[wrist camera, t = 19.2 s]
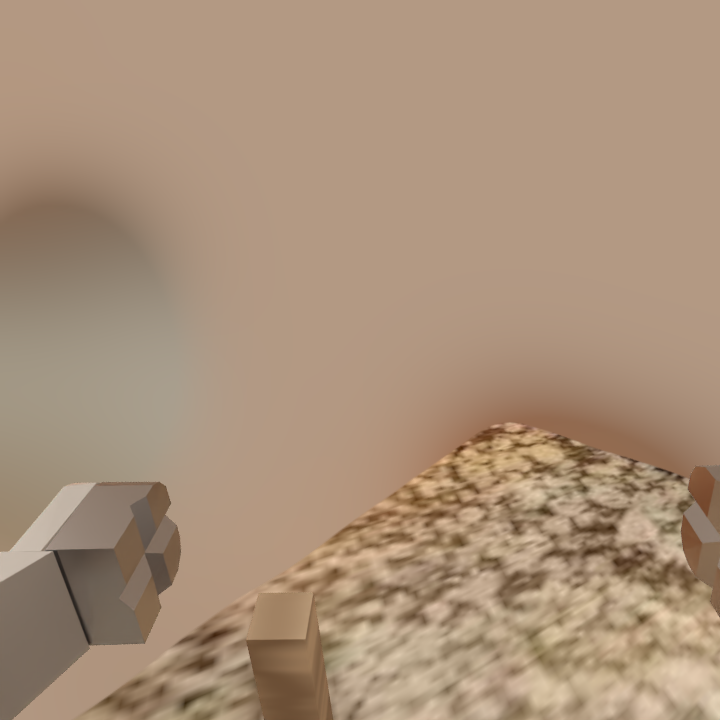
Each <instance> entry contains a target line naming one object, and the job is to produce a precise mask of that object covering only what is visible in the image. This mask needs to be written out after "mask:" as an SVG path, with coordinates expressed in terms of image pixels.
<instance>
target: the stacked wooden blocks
mask: <svg viewBox="0 0 720 720" xmlns="http://www.w3.org/2000/svg"><path fill="white" fill-rule="evenodd" d="M246 642H247V646H248V650H249V655H250V659H251V664H252V668H253V672H254V677H255V681H256V685H257V690H258V694H259V699H260V703H261V707H262V712H263V716H264V720H333V716H332V709H331V703H330V696H329V690H328V684H327V677H326V671H325V664H324V658H323V651H322V645H321V638H320V632H319V626H318V619H317V613H316V606H315V600H314V593H313V592H300V593H259V594H258V598H257V602H256V605H255V609H254V613H253V616H252V620H251V624H250V627H249V631H248V635H247V638H246Z"/></svg>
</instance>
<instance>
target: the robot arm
mask: <svg viewBox="0 0 720 720" xmlns="http://www.w3.org/2000/svg"><path fill="white" fill-rule="evenodd" d="M688 490H689V492H690V493H691V495H692V496H693V498H694V499H695V501H696V502H695V503H694V504H693V505H691V506H690V507H689V508H688V509H687V510H686V511H685V512H684V513H683V519H682V527H681V537H682V545H683V551H684V554H685V557H686V559H687V562H688V565H689V566H690V568H691V570H692V572H693V573H694V575H695V577H696V578H698V579H699V580H701V581H702V582H704V583H705V584H707V585H709V586H710V587H712V588H713V590H712V595H711V600H710V602H711V604H712V605H713V607H714V609H715V610H716V612H717V614H718V615H719V617H720V465H714V466H695V468H694V470H693V471H692V473H691V475H690V480H689V485H688ZM170 504H171V501H170V499H169V495H168V492H167V488H166V486H164V485H163V484H162V483H160V482H102V483H72V484H69V485H67V486H64V487H63V488H62V490H61V491H60V492H59V493H58V494H57V495H56V497H55V498H54V499H53V500H52V501H51V503H50V504H49V505H48V506H47V507H46V509H45V510H44V511H43V512H42V513H41V515H40V516H39V517H38V518H37V519H36V520H35V522H34V523H33V524H32V525H31V526H30V528H29V529H28V530H27V531H26V532H25V533H24V535H23V536H22V537H21V538H20V539H19V541H18V542H17V543H16V544H15V546H14V547H13V548H12V549H11V550H10V551H9V552H0V720H12V719H13V718H14V717H16V716H17V715H18V714H19V713H20V712H21V711H22V710H23V709H24V708H25V707H26V706H28V705H29V704H30V703H31V702H32V701H33V700H34V699H35V698H36V697H37V696H38V695H40V694H41V693H42V692H43V691H44V690H45V689H46V688H47V687H48V686H49V685H50V684H52V683H53V682H54V681H55V680H56V679H57V678H58V677H59V676H60V675H61V674H63V673H64V672H65V671H66V670H67V669H68V668H69V667H70V666H71V665H72V664H73V663H75V662H76V661H77V660H78V659H79V658H80V657H81V656H82V655H83V654H84V653H85V652H87V651H88V650H89V649H90V648H89V645H117V644H145V642H146V640H147V637H148V635H149V633H150V631H151V629H152V627H153V624H154V622H155V620H156V618H157V616H158V613H159V612H160V609H161V604H160V601H159V598H158V595H159V594H160V593H161V592H163V591H164V590H166V589H167V588H168V587H169V586H171V585H172V583H173V580H174V578H175V576H176V573H177V571H178V567H179V561H180V555H181V545H180V536H179V532H178V528H177V525H176V524H175V523H174V522H172V521H171V520H170V519H169V518H168V517H167V516H166V515H165V514H166V512H167V510H168V508H169V506H170Z"/></svg>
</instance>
